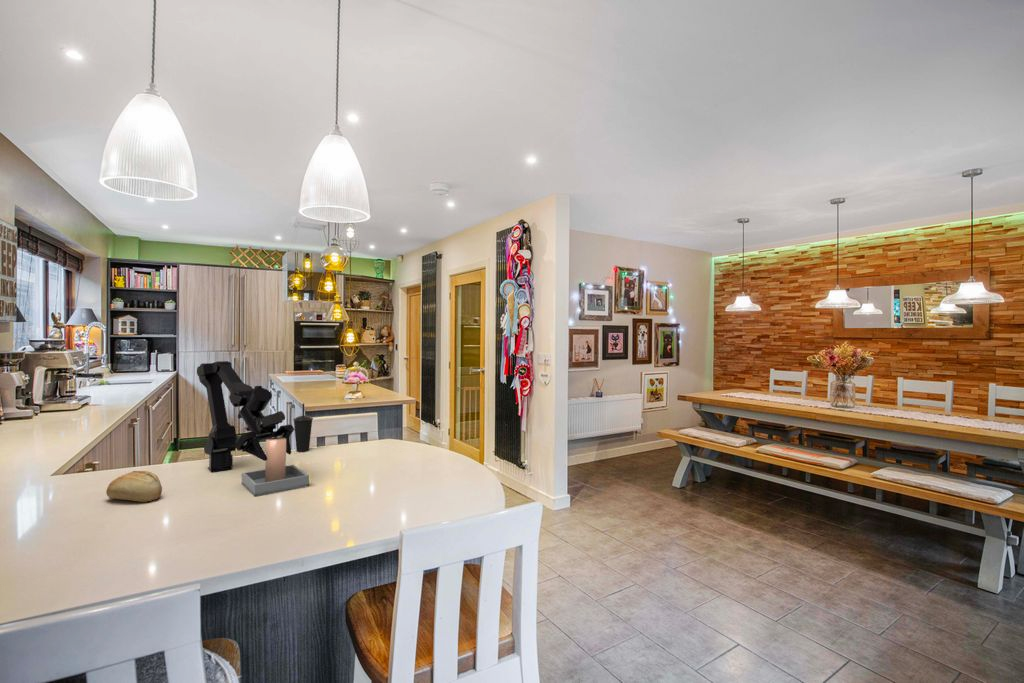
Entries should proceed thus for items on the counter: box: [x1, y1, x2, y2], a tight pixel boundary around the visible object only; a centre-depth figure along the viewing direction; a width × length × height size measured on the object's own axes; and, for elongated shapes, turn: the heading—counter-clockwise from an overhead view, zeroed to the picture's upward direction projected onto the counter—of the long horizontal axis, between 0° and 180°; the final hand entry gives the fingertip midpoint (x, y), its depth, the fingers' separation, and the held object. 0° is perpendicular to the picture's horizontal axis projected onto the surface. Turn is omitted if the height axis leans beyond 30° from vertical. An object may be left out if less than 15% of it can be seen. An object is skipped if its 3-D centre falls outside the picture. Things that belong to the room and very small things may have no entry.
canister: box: [264, 438, 287, 482], centre depth 155 cm, size 6×6×14 cm
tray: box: [241, 464, 310, 497], centre depth 154 cm, size 16×16×4 cm
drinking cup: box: [292, 402, 314, 453], centre depth 199 cm, size 8×8×20 cm
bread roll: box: [106, 470, 163, 503], centre depth 139 cm, size 10×15×8 cm, turn 87°
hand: (278, 456), depth 154 cm, fingers open, 9 cm apart
